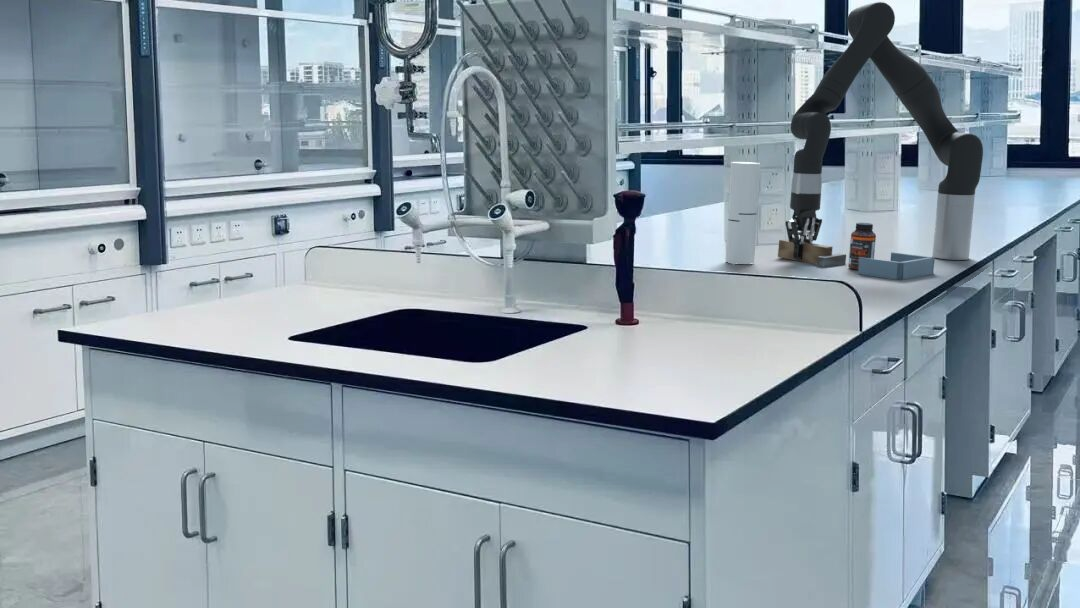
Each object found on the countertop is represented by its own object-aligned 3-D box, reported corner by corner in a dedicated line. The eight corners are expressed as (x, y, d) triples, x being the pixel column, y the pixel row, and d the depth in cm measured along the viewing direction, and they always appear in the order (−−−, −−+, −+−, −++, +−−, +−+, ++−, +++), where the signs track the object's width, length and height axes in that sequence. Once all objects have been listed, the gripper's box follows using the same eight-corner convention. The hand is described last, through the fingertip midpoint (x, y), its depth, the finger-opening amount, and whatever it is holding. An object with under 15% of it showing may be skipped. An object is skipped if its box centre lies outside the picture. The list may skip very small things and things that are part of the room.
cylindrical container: (753, 265, 277) (760, 164, 273) (724, 264, 279) (730, 163, 274) (754, 261, 284) (760, 162, 280) (725, 260, 286) (731, 161, 281)
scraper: (769, 258, 289) (771, 241, 288) (791, 255, 296) (793, 238, 295) (823, 267, 278) (825, 249, 277) (845, 264, 285) (847, 246, 284)
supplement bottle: (846, 269, 275) (850, 223, 273) (849, 266, 280) (853, 221, 278) (871, 271, 272) (875, 225, 270) (874, 268, 278) (878, 223, 276)
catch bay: (858, 273, 268) (859, 257, 267) (891, 268, 279) (893, 252, 278) (900, 280, 260) (901, 263, 259) (933, 273, 271) (934, 257, 270)
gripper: (808, 188, 293) (804, 254, 296) (777, 191, 283) (773, 258, 286) (834, 191, 287) (829, 257, 290) (803, 193, 278) (798, 262, 281)
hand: (801, 258), depth 288 cm, fingers closed on scraper, 3 cm apart
